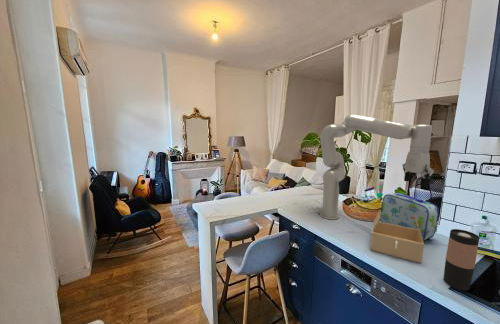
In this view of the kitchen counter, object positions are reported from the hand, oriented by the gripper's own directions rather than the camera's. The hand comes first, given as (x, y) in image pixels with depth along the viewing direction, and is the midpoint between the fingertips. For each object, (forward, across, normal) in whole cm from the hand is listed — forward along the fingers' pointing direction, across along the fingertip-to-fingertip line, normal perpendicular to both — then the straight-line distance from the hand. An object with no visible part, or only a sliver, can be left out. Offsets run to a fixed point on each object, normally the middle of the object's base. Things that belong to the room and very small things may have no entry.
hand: (414, 183), depth 109 cm
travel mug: (+30, +33, -9) cm, 45 cm away
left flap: (+17, +4, -21) cm, 27 cm away
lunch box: (+30, -7, +5) cm, 31 cm away
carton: (+30, +9, -15) cm, 35 cm away
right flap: (+17, +13, -8) cm, 23 cm away
